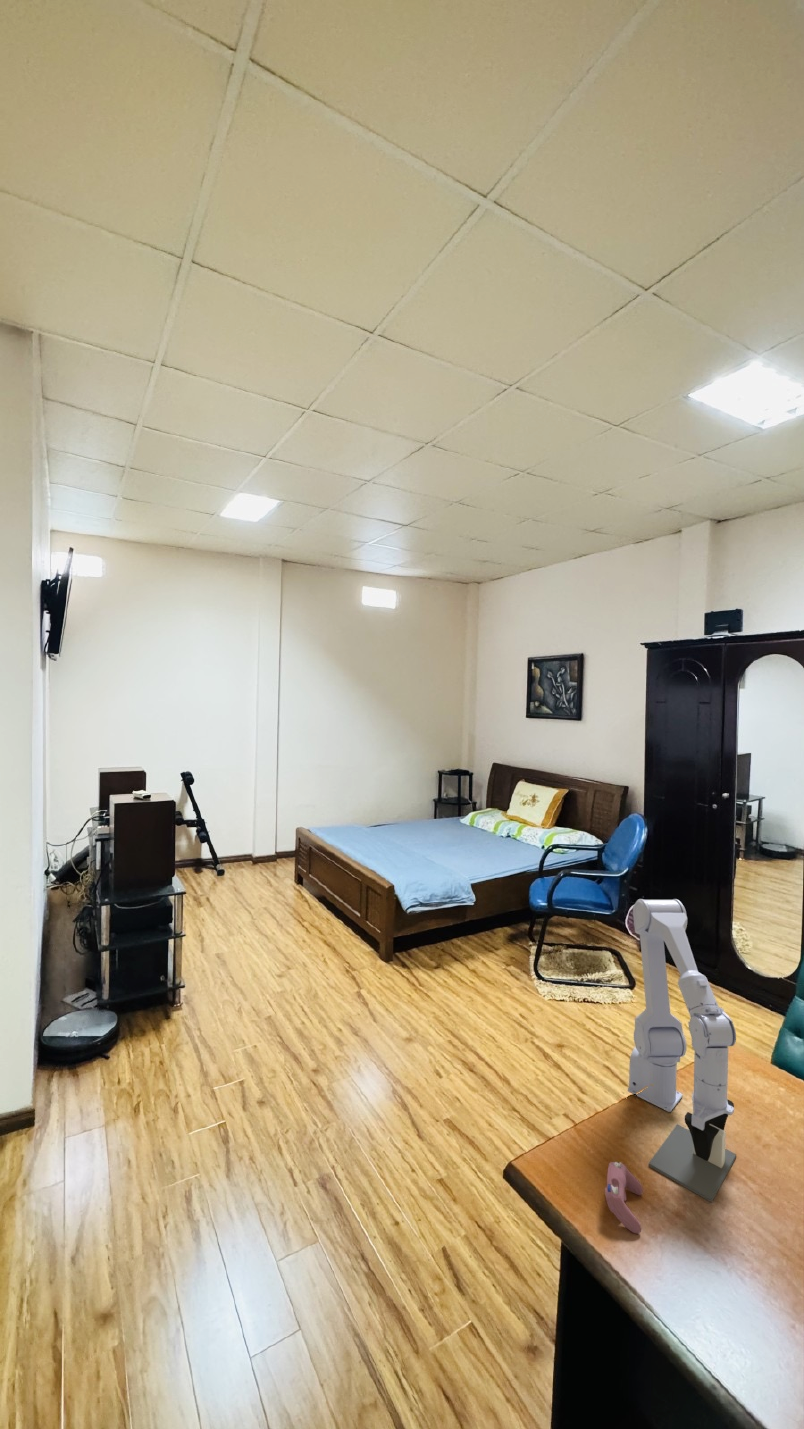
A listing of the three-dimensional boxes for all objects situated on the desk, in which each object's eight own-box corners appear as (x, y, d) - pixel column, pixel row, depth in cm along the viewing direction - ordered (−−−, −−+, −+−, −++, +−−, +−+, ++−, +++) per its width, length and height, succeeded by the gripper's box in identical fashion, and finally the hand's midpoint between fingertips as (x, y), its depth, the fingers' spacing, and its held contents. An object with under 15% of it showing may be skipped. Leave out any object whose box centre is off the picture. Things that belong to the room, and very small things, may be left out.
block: (693, 1153, 110) (694, 1122, 110) (696, 1147, 111) (697, 1117, 111) (721, 1168, 106) (722, 1136, 106) (724, 1162, 108) (725, 1131, 108)
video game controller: (621, 1193, 102) (603, 1153, 104) (645, 1190, 101) (627, 1150, 102) (616, 1238, 94) (597, 1193, 95) (643, 1236, 92) (623, 1190, 93)
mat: (648, 1166, 107) (648, 1162, 107) (677, 1126, 117) (677, 1123, 117) (711, 1202, 99) (711, 1199, 99) (736, 1157, 110) (736, 1154, 110)
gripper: (721, 1104, 101) (719, 1180, 101) (744, 1070, 111) (742, 1138, 111) (680, 1085, 106) (678, 1157, 106) (705, 1054, 116) (704, 1119, 116)
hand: (708, 1146), depth 109 cm, fingers open, 7 cm apart
